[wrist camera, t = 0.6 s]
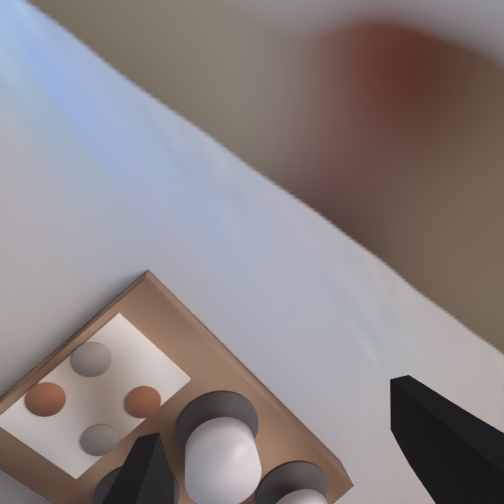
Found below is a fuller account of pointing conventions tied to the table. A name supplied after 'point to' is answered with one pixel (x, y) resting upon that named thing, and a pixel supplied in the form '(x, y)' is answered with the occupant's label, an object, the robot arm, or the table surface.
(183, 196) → the table surface
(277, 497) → the button board
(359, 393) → the table surface
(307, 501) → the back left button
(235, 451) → the button
